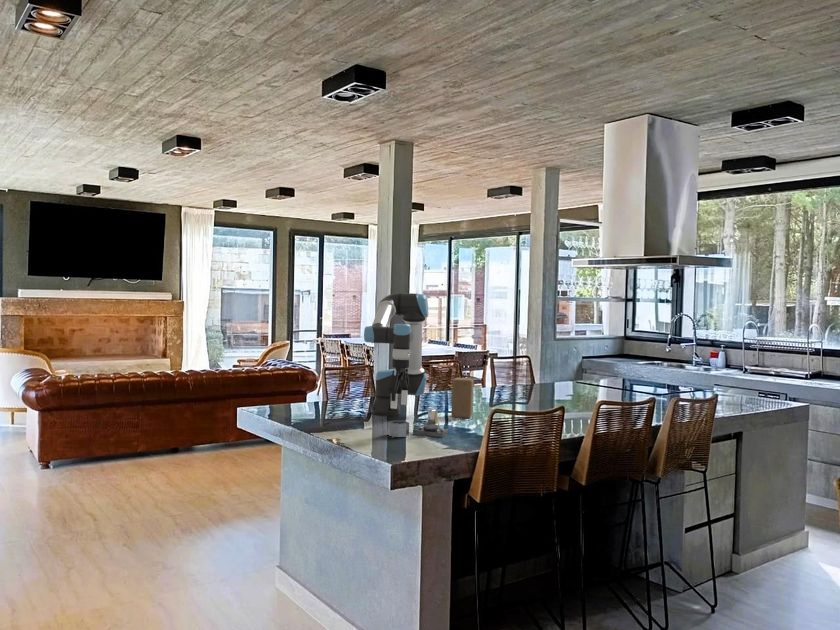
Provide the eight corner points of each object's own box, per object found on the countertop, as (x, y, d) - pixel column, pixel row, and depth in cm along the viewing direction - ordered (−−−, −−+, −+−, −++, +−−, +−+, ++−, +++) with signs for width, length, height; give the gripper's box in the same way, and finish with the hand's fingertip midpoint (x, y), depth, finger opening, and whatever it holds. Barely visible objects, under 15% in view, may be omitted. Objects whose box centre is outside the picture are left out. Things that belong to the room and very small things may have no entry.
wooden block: (470, 418, 367) (471, 380, 366) (451, 417, 369) (452, 379, 368) (472, 415, 377) (474, 378, 376) (453, 414, 379) (455, 377, 378)
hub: (384, 436, 312) (385, 422, 311) (392, 433, 320) (392, 419, 320) (404, 438, 309) (404, 424, 309) (410, 435, 317) (411, 421, 317)
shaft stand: (412, 434, 319) (413, 410, 318) (419, 430, 328) (420, 407, 328) (442, 437, 314) (443, 413, 314) (448, 433, 324) (449, 409, 323)
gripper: (399, 360, 301) (397, 410, 301) (417, 357, 324) (416, 403, 325) (382, 359, 303) (380, 409, 303) (402, 356, 327) (400, 402, 327)
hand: (399, 406), depth 314 cm, fingers open, 13 cm apart
